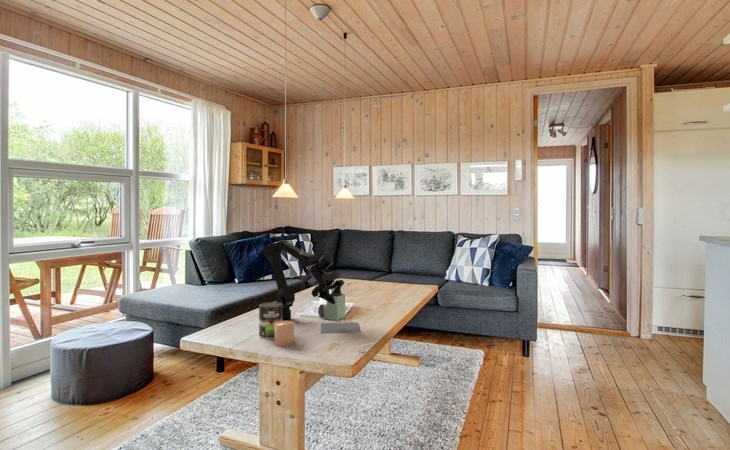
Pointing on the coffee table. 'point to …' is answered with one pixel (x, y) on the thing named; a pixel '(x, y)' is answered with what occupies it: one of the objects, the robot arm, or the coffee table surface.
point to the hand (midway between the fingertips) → (338, 302)
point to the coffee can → (269, 318)
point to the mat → (340, 327)
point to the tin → (336, 307)
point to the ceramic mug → (322, 311)
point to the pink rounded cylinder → (284, 333)
